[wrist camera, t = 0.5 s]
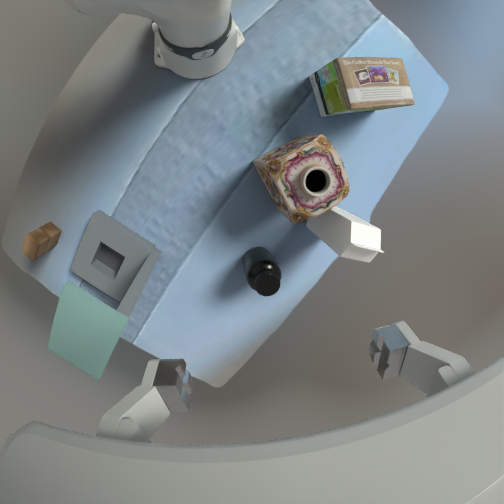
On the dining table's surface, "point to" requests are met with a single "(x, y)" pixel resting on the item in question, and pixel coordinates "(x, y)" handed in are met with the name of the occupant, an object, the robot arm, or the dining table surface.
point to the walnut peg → (41, 240)
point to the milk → (347, 234)
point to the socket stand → (107, 280)
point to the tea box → (361, 85)
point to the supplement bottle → (262, 271)
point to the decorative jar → (304, 177)
